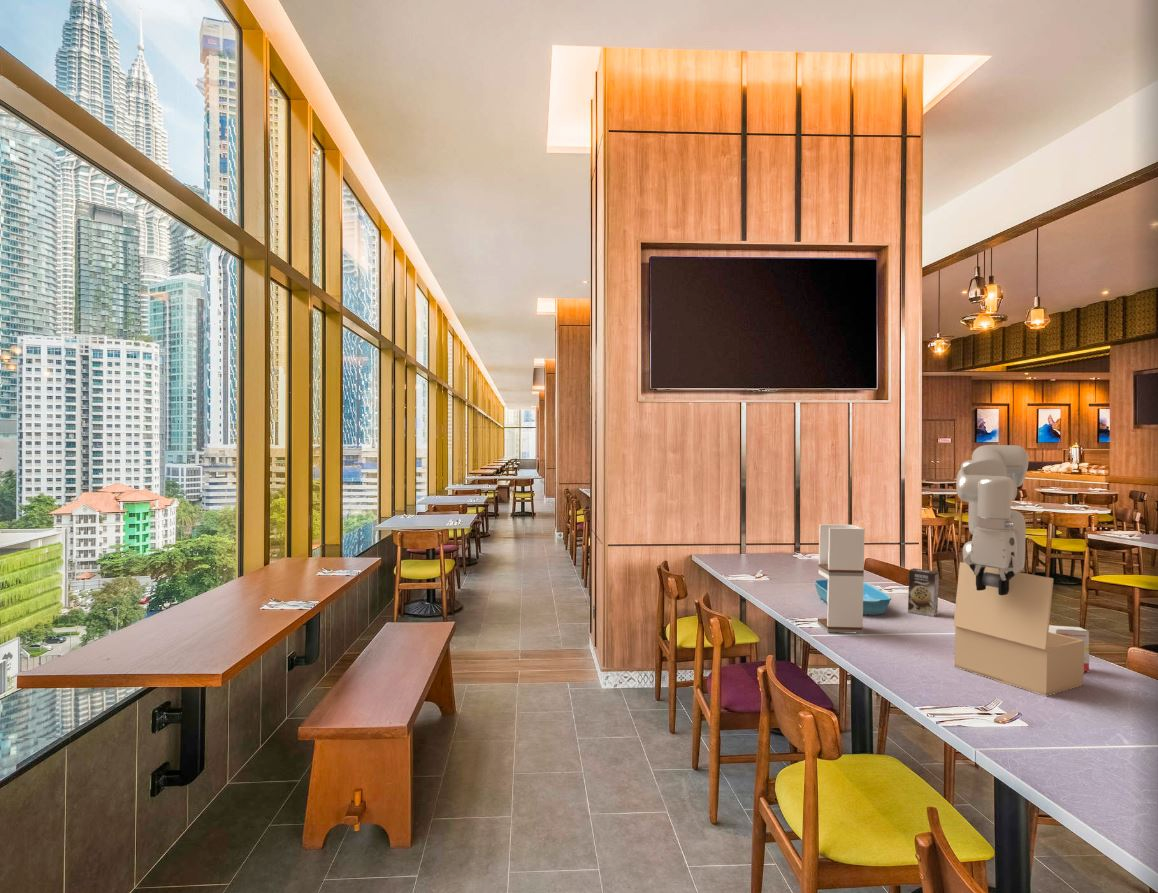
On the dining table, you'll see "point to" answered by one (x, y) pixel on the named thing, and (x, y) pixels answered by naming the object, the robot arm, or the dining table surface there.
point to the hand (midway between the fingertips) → (991, 591)
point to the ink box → (1078, 634)
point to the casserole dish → (872, 597)
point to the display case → (842, 576)
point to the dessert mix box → (923, 592)
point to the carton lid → (1005, 606)
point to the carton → (1022, 661)
